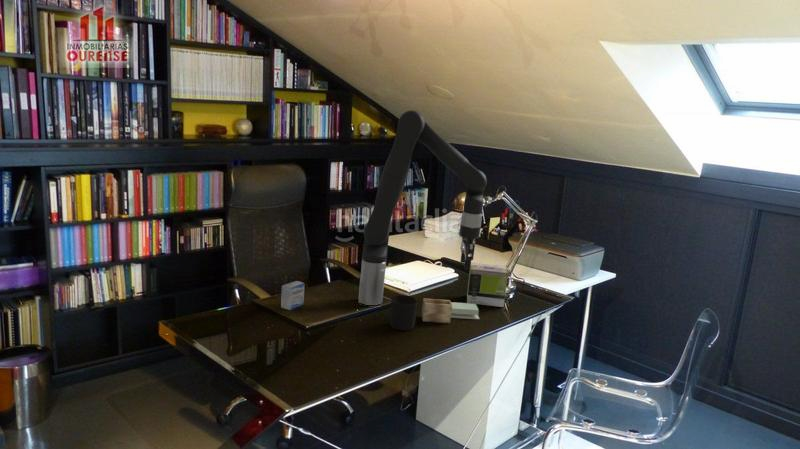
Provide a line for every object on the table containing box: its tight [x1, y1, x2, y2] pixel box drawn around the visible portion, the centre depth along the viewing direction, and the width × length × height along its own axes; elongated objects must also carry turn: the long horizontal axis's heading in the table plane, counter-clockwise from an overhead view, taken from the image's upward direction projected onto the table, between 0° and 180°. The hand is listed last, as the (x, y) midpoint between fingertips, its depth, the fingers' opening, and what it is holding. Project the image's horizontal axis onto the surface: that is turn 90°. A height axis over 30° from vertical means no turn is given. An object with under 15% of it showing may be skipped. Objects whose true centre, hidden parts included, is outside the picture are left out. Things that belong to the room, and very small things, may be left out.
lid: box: [451, 301, 480, 316], centre depth 230 cm, size 11×6×3 cm, turn 94°
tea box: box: [466, 262, 509, 308], centre depth 245 cm, size 15×10×15 cm, turn 84°
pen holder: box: [389, 294, 419, 332], centre depth 213 cm, size 9×9×10 cm
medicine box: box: [280, 280, 306, 311], centre depth 221 cm, size 8×4×9 cm, turn 150°
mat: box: [451, 313, 480, 320], centre depth 230 cm, size 12×8×1 cm, turn 94°
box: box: [421, 298, 452, 324], centre depth 222 cm, size 10×5×7 cm, turn 94°
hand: (465, 265), depth 227 cm, fingers open, 8 cm apart
